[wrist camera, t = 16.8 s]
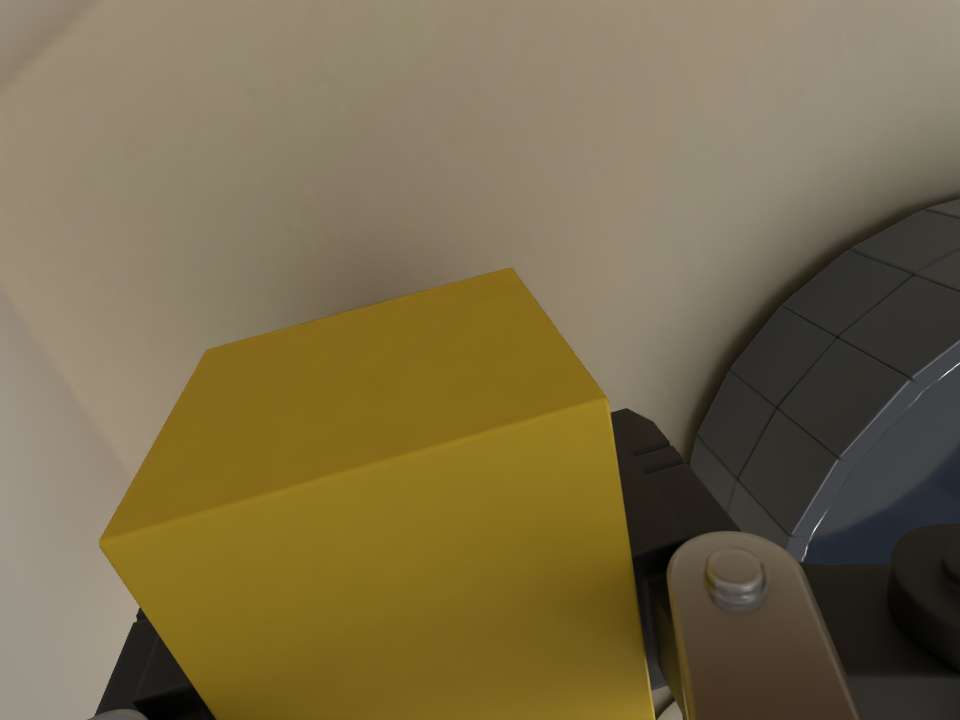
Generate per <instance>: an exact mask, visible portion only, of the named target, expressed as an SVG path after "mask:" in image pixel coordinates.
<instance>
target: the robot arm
mask: <svg viewBox="0 0 960 720" xmlns="http://www.w3.org/2000/svg"><path fill="white" fill-rule="evenodd" d="M611 420H612V427H613V434H614V440H615V447H616V454H617V461H618V468H619V474H620V481H621V488H622V495H623V502H624V508H625V515H626V522H627V529H628V536H629V542H630V549H631V556H632V563H633V570H634V576H635V583H636V590H637V597H638V604H639V610H640V617H641V624H642V631H643V638H644V645H645V651H646V658H647V665H648V672H649V679H650V685H651V690H654V689H658V688H661V687H664V686H667V685H668V686H669V688H670V690H671V692H672V694H673V696H674V698H675V700H676V703H677V705H678V707H679V709H680V711H681V713H682V718H683V720H960V524H934V525H928V526H923V527H920V528H917V529H914V530H912V531H910V532H908V533H906V534H905V535H903V536H902V537H901V538H900V539H899V540H898V541H897V543H896V544H895V546H894V548H893V551H892V554H891V562H890V564H854V565H818V564H810V563H803V562H799V561H796V559H795V558H794V557H793V556H792V555H791V554H789V553H788V552H787V551H786V550H785V549H783V548H782V547H780V546H779V545H777V544H775V543H773V542H771V541H769V540H767V539H765V538H762V537H759V536H757V535H753V534H749V533H744V532H742V531H741V530H740V529H739V527H738V526H737V525H736V524H735V522H734V521H733V520H732V519H731V517H730V516H729V515H728V514H727V512H726V511H725V510H724V509H723V507H722V506H721V505H720V504H719V503H718V501H717V500H716V499H715V498H714V496H713V495H712V494H711V493H710V491H709V490H708V489H707V488H706V486H705V485H704V484H703V483H702V482H701V480H700V479H699V478H698V477H697V475H696V474H695V473H694V472H693V470H692V469H691V468H690V467H689V465H688V464H687V463H684V461H683V458H682V457H681V456H680V454H679V453H678V452H677V451H676V449H675V448H674V447H673V446H670V443H669V441H668V439H667V438H666V437H665V436H664V435H663V433H662V432H661V431H660V430H659V428H658V427H657V426H656V425H655V423H654V422H653V421H651V420H649V419H647V418H645V417H643V416H641V415H639V414H637V413H635V412H633V411H631V410H629V409H627V408H626V409H622V410H619V411H615V412H612V413H611ZM136 617H137V622H135V623H133V625H132V627H131V630H130V632H129V635H128V637H127V639H126V642H125V644H124V647H123V649H122V652H121V654H120V656H119V659H118V661H117V664H116V666H115V668H114V671H113V673H112V675H111V678H110V680H109V683H108V685H107V688H106V690H105V692H104V695H103V697H102V699H101V702H100V704H99V706H98V709H97V711H96V714H95V716H94V717H92V718H90V719H88V720H216V719H215V717H214V716H213V714H212V713H211V711H210V710H209V708H208V707H207V705H206V704H205V702H204V701H203V699H202V698H201V697H200V695H199V694H198V692H197V691H196V689H195V688H194V686H193V685H192V683H191V682H190V680H189V679H188V677H187V676H186V674H185V673H184V671H183V670H182V668H181V667H180V665H179V664H178V662H177V661H176V659H175V658H174V656H173V655H172V654H171V652H170V651H169V649H168V648H167V646H166V645H165V643H164V642H163V640H162V639H161V637H160V636H159V634H158V633H157V631H156V630H155V628H154V627H153V625H152V624H151V622H150V621H149V619H148V618H147V616H146V615H145V613H144V612H143V611H142V609H141V608H139V611H138V613H137V615H136Z"/></svg>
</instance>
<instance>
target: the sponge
mask: <svg viewBox="0 0 960 720" xmlns="http://www.w3.org/2000/svg"><path fill="white" fill-rule="evenodd" d="M99 546H100V548H101V550H102V551H103V553H104V554H105V556H106V557H107V558H108V560H109V562H110V563H111V564H112V566H113V568H114V569H115V571H116V572H117V573H118V575H119V576H120V578H121V579H122V581H123V582H124V584H125V585H126V587H127V588H128V590H129V591H130V593H131V594H132V596H133V597H134V599H135V600H136V601H137V603H138V605H139V606H140V608H141V609H142V611H143V612H144V613H145V615H146V616H147V618H148V619H149V621H150V622H151V624H152V625H153V627H154V628H155V630H156V631H157V633H158V634H159V636H160V637H161V639H162V640H163V642H164V643H165V645H166V646H167V648H168V649H169V651H170V652H171V654H172V655H173V656H174V658H175V659H176V661H177V662H178V664H179V665H180V667H181V668H182V670H183V671H184V673H185V674H186V676H187V677H188V679H189V680H190V682H191V683H192V685H193V686H194V688H195V689H196V691H197V692H198V694H199V695H200V697H201V698H202V699H203V701H204V702H205V704H206V705H207V707H208V708H209V710H210V711H211V713H212V714H213V716H214V717H215V719H216V720H656V719H655V713H654V706H653V699H652V692H651V685H650V679H649V672H648V665H647V658H646V651H645V645H644V638H643V631H642V624H641V617H640V610H639V604H638V597H637V590H636V583H635V576H634V570H633V563H632V556H631V549H630V542H629V536H628V529H627V522H626V515H625V508H624V502H623V495H622V488H621V481H620V474H619V468H618V461H617V454H616V447H615V440H614V434H613V427H612V420H611V413H610V406H609V400H608V398H607V397H606V396H605V394H604V393H603V392H602V390H601V389H600V387H599V386H598V385H597V383H596V382H595V381H594V379H593V378H592V376H591V375H590V374H589V372H588V371H587V370H586V368H585V367H584V365H583V364H582V363H581V361H580V360H579V359H578V357H577V356H576V355H575V353H574V352H573V350H572V349H571V348H570V346H569V345H568V344H567V342H566V341H565V339H564V338H563V337H562V335H561V334H560V333H559V331H558V330H557V328H556V327H555V326H554V324H553V323H552V322H551V320H550V319H549V317H548V316H547V315H546V313H545V312H544V311H543V309H542V308H541V307H540V305H539V304H538V302H537V301H536V300H535V298H534V297H533V296H532V294H531V293H530V291H529V290H528V289H527V287H526V286H525V285H524V283H523V282H522V280H521V279H520V278H519V276H518V275H517V274H516V272H515V271H514V269H513V268H506V269H503V270H499V271H495V272H492V273H488V274H484V275H481V276H477V277H473V278H469V279H466V280H462V281H458V282H455V283H451V284H447V285H444V286H440V287H436V288H432V289H429V290H425V291H421V292H418V293H414V294H410V295H407V296H403V297H399V298H395V299H392V300H388V301H384V302H381V303H377V304H373V305H370V306H366V307H362V308H358V309H355V310H351V311H347V312H344V313H340V314H336V315H333V316H329V317H325V318H321V319H318V320H314V321H310V322H307V323H303V324H299V325H296V326H292V327H288V328H284V329H281V330H277V331H273V332H270V333H266V334H262V335H259V336H255V337H251V338H247V339H244V340H240V341H236V342H233V343H229V344H225V345H222V346H218V347H214V348H210V349H208V350H206V351H205V353H204V355H203V357H202V359H201V360H200V362H199V364H198V366H197V367H196V369H195V371H194V373H193V375H192V376H191V378H190V380H189V382H188V383H187V385H186V387H185V389H184V391H183V392H182V394H181V396H180V398H179V400H178V401H177V403H176V405H175V407H174V408H173V410H172V412H171V414H170V416H169V417H168V419H167V421H166V423H165V424H164V426H163V428H162V430H161V432H160V433H159V435H158V437H157V439H156V440H155V442H154V444H153V446H152V448H151V449H150V451H149V453H148V455H147V457H146V458H145V460H144V462H143V464H142V465H141V467H140V469H139V471H138V473H137V474H136V476H135V478H134V480H133V481H132V483H131V485H130V487H129V489H128V490H127V492H126V494H125V496H124V498H123V499H122V501H121V503H120V505H119V506H118V508H117V510H116V512H115V514H114V515H113V517H112V519H111V521H110V523H109V524H108V526H107V528H106V530H105V531H104V533H103V535H102V537H101V538H100V540H99Z"/></svg>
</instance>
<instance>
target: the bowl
mask: <svg viewBox="0 0 960 720" xmlns="http://www.w3.org/2000/svg"><path fill="white" fill-rule="evenodd" d="M697 434H698V435H697V436H696V439H695V443H694V448H693V452H692V457H691V461H690V466H689V467H690V468H691V469H692V470H693V472H694V473H695V474H696V475H697V477H698V478H699V479H700V480H701V482H702V483H703V484H704V485H705V486H706V488H707V489H708V490H709V491H710V493H711V494H712V495H713V496H714V498H715V499H716V500H717V501H718V503H719V504H720V505H721V506H722V507H723V509H724V510H725V511H726V512H727V514H728V515H729V516H730V517H731V519H732V520H733V521H734V522H735V524H736V525H737V526H738V527H739V529H740V530H741V531H742V532H744V533H749V534H753V535H757V536H759V537H762V538H765V539H767V540H769V541H771V542H773V543H775V544H777V545H779V546H780V547H782V548H783V549H785V550H786V551H787V552H788V553H789V554H791V555H792V556H793V557H794V558H795V559H796V561H799V562H803V563H810V564H818V565H854V564H890V562H891V554H892V551H893V548H894V546H895V544H896V543H897V541H898V540H899V539H900V538H901V537H902V536H903V535H905V534H906V533H908V532H910V531H912V530H914V529H917V528H920V527H923V526H928V525H934V524H960V199H958V200H954V201H950V202H946V203H943V204H939V205H935V206H932V207H928V208H925V209H924V210H921V211H918V212H916V213H915V214H913V215H911V216H909V217H907V218H905V219H903V220H902V221H900V222H898V223H896V224H894V225H892V226H890V227H889V228H887V229H885V230H883V231H881V232H879V233H877V234H876V235H874V236H872V237H870V238H868V239H866V240H864V241H863V242H861V243H859V244H857V245H855V246H853V247H851V248H850V249H849V251H848V250H846V251H845V252H843V253H842V254H841V255H840V256H839V257H837V258H836V259H835V260H834V261H833V262H831V263H830V264H829V265H828V266H827V267H825V268H824V269H823V270H822V271H821V272H819V273H818V274H817V275H816V276H815V277H813V278H812V279H811V280H810V281H809V282H807V283H806V284H805V285H804V286H803V287H801V288H800V289H799V290H798V291H797V292H795V293H794V294H793V295H792V296H791V297H789V298H788V299H787V300H786V301H785V302H783V303H782V306H780V307H778V309H777V310H776V311H775V312H774V314H773V315H772V316H771V317H770V319H769V320H768V321H767V322H766V324H765V325H764V326H763V327H762V329H761V330H760V331H759V332H758V334H757V335H756V336H755V337H754V338H753V340H752V341H751V342H750V343H749V345H748V346H747V347H746V348H745V350H744V351H743V352H742V353H741V355H740V356H739V357H738V358H737V360H736V361H735V362H734V363H733V365H732V366H731V367H730V370H729V371H728V372H727V374H726V376H725V378H724V380H723V382H722V384H721V386H720V388H719V390H718V392H717V394H716V396H715V398H714V400H713V402H712V404H711V406H710V408H709V410H708V412H707V414H706V416H705V418H704V420H703V422H702V424H701V426H700V428H699V430H698V433H697Z"/></svg>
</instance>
